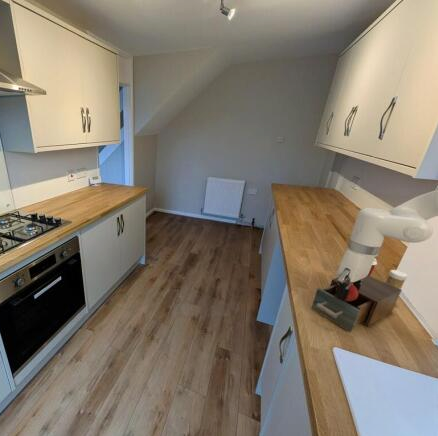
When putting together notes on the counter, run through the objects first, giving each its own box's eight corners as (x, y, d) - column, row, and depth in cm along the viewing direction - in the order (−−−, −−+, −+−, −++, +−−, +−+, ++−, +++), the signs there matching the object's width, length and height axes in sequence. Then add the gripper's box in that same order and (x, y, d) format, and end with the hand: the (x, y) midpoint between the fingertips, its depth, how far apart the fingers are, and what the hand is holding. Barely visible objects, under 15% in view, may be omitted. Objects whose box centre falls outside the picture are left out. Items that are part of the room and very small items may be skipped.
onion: (329, 297, 83) (335, 278, 81) (340, 294, 85) (346, 275, 83) (347, 308, 78) (355, 288, 76) (358, 304, 80) (366, 284, 78)
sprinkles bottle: (391, 307, 89) (405, 277, 85) (376, 300, 93) (388, 271, 88) (395, 303, 91) (409, 273, 87) (380, 297, 95) (392, 268, 90)
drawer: (341, 337, 75) (350, 316, 72) (303, 311, 86) (308, 292, 83) (374, 319, 82) (382, 299, 79) (335, 297, 93) (341, 279, 90)
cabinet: (367, 326, 80) (378, 302, 77) (324, 301, 92) (332, 279, 88) (391, 313, 86) (401, 289, 83) (348, 291, 98) (355, 270, 95)
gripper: (364, 238, 81) (348, 282, 88) (334, 247, 75) (319, 294, 81) (392, 247, 75) (373, 294, 81) (362, 257, 68) (343, 308, 74)
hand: (346, 293), depth 81 cm, fingers closed on onion, 5 cm apart
